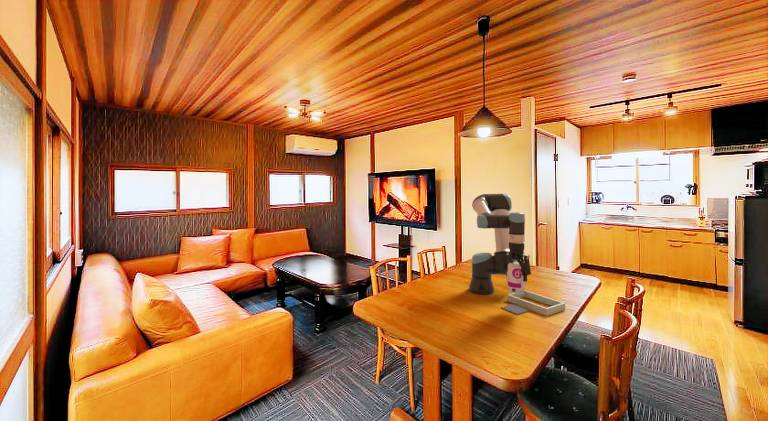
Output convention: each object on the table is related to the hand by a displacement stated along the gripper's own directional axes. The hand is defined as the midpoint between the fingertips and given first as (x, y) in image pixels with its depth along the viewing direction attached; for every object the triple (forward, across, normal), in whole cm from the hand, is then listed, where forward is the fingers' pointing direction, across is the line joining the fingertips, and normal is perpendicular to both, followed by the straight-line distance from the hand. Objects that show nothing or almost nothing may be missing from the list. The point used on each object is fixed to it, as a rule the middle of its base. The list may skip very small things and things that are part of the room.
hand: (516, 285), depth 158 cm
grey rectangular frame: (+13, +1, +14) cm, 19 cm away
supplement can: (+3, 0, 0) cm, 3 cm away
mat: (+13, 0, 0) cm, 13 cm away
